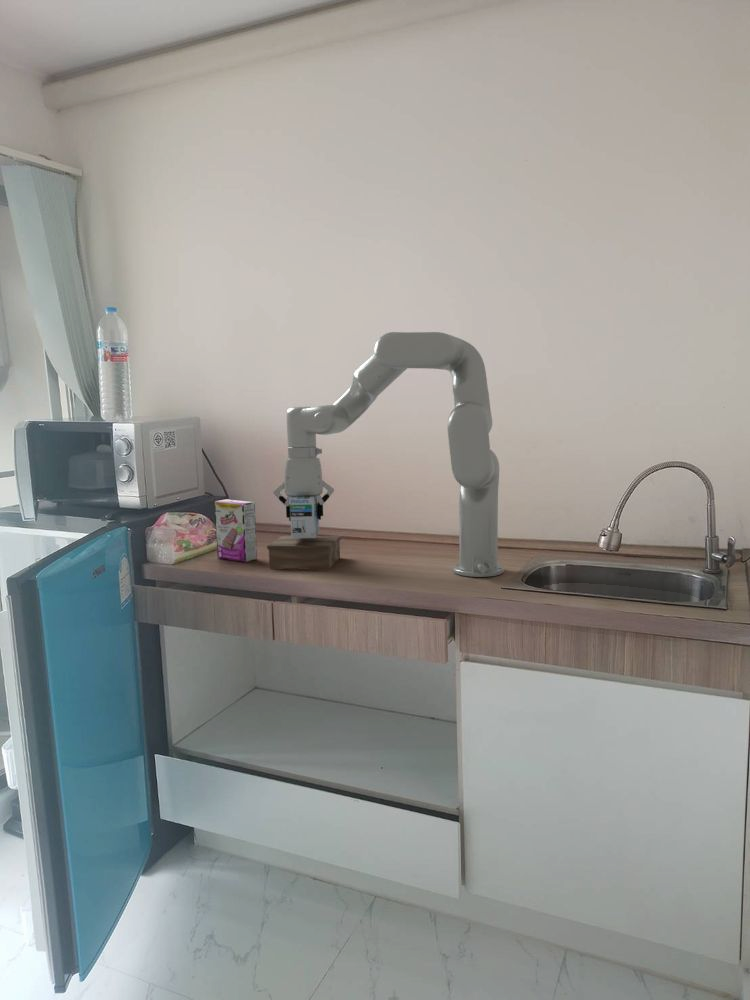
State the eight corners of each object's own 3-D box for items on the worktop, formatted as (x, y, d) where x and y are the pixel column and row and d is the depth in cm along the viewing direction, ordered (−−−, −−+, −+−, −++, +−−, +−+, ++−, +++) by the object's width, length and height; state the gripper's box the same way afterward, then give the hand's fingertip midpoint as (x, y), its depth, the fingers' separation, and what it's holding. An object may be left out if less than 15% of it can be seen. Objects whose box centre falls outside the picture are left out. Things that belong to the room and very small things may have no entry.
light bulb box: (316, 538, 192) (314, 497, 190) (290, 539, 192) (288, 498, 190) (319, 531, 202) (318, 492, 201) (295, 531, 202) (294, 493, 201)
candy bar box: (216, 558, 206) (213, 501, 204) (229, 555, 210) (226, 498, 208) (245, 563, 200) (242, 503, 197) (258, 559, 204) (255, 501, 202)
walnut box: (329, 571, 190) (329, 546, 189) (268, 569, 192) (267, 545, 191) (341, 558, 204) (340, 536, 203) (283, 557, 207) (282, 535, 206)
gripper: (334, 451, 199) (336, 516, 201) (269, 453, 197) (272, 518, 199) (335, 453, 191) (338, 520, 194) (268, 455, 189) (272, 523, 192)
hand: (304, 519), depth 196 cm, fingers closed on light bulb box, 7 cm apart
